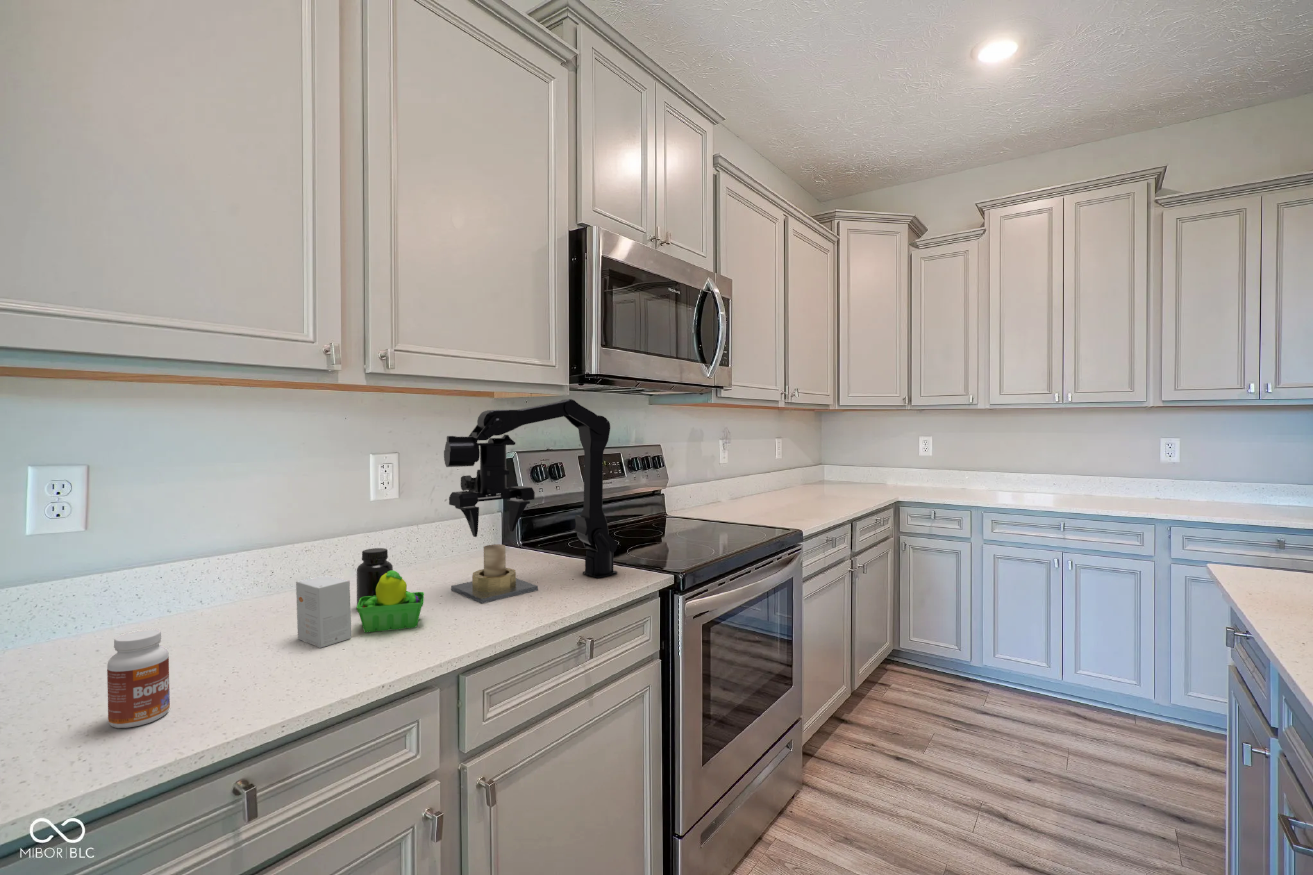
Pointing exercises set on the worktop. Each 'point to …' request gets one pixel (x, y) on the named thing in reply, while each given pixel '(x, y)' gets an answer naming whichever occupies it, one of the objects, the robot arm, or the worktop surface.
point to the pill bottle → (138, 679)
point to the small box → (323, 610)
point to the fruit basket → (390, 605)
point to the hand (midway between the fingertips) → (493, 533)
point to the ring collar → (493, 586)
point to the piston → (494, 560)
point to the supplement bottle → (371, 571)
